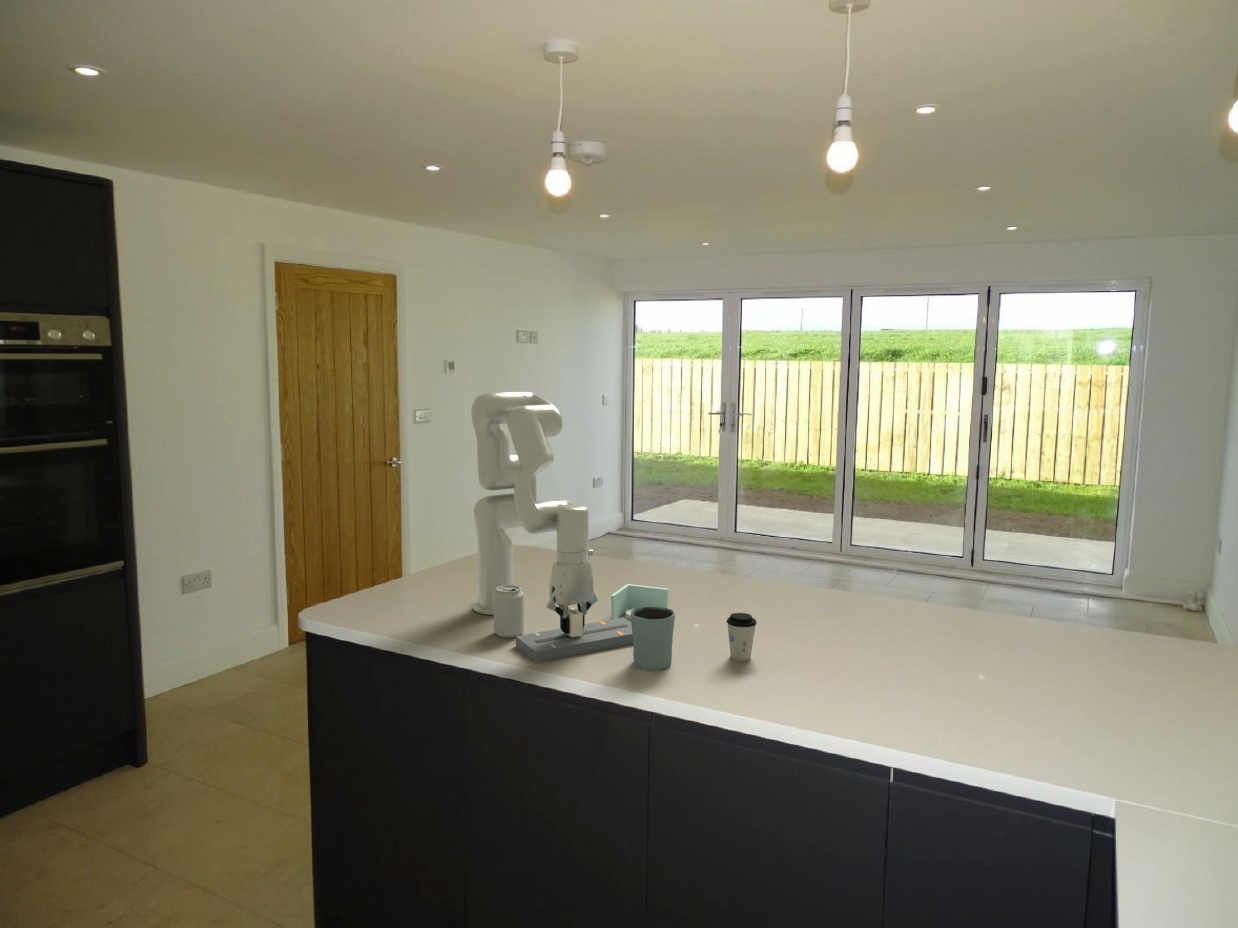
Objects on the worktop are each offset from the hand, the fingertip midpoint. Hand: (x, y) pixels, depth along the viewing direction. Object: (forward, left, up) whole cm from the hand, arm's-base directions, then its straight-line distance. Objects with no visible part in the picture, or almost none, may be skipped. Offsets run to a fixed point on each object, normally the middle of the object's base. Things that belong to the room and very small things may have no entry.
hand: (572, 630), depth 198 cm
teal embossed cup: (+19, +11, -4) cm, 22 cm away
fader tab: (0, 0, -1) cm, 1 cm away
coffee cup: (+26, +31, -4) cm, 40 cm away
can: (-15, -10, -4) cm, 19 cm away
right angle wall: (-11, +26, -5) cm, 28 cm away
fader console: (0, +3, -4) cm, 5 cm away
